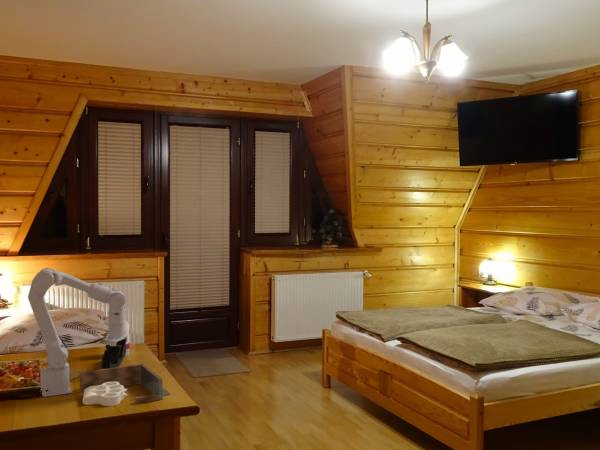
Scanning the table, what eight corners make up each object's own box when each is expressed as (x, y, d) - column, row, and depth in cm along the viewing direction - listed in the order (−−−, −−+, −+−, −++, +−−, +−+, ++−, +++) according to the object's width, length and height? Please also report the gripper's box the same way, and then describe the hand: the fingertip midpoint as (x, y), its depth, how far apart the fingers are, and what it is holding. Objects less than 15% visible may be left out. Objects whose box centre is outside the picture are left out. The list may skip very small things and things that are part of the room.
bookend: (159, 399, 200) (159, 379, 200) (140, 382, 220) (139, 364, 219) (173, 397, 203) (173, 377, 203) (153, 380, 222) (153, 362, 222)
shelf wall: (93, 411, 189) (93, 389, 189) (79, 391, 208) (79, 372, 208) (162, 399, 201) (162, 378, 200) (143, 382, 220) (143, 363, 220)
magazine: (108, 356, 222) (124, 319, 250) (99, 357, 222) (116, 319, 250) (111, 395, 228) (126, 354, 256) (102, 395, 227) (119, 354, 256)
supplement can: (124, 352, 266) (124, 319, 265) (132, 355, 260) (132, 321, 259) (107, 355, 260) (106, 321, 260) (115, 358, 254) (115, 324, 254)
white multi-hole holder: (84, 393, 208) (127, 389, 213) (82, 409, 191) (128, 405, 196) (84, 383, 208) (127, 380, 213) (82, 399, 191) (128, 395, 196)
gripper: (124, 328, 207) (124, 366, 207) (131, 320, 221) (131, 356, 222) (103, 328, 206) (103, 366, 206) (112, 320, 220) (112, 356, 221)
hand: (116, 361), depth 214 cm, fingers open, 7 cm apart
